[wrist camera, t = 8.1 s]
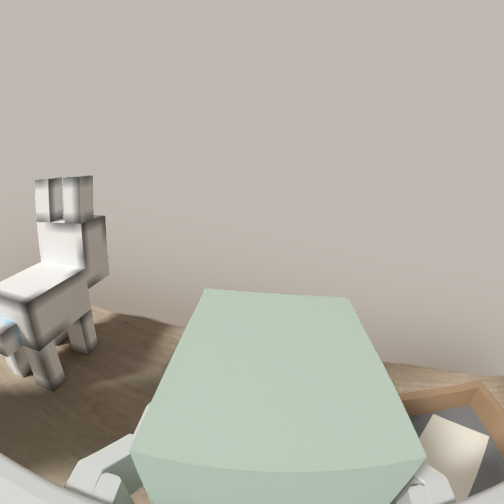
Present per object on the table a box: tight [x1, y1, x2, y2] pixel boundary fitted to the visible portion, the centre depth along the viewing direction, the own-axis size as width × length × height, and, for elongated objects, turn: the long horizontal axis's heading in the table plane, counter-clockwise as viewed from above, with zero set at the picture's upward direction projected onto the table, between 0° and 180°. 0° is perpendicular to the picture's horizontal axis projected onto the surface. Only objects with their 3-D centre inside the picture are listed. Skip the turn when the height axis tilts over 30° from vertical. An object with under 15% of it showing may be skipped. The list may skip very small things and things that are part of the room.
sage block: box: [129, 288, 427, 504], centre depth 8 cm, size 5×7×10 cm
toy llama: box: [0, 176, 109, 391], centre depth 27 cm, size 8×18×20 cm, turn 174°
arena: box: [398, 380, 504, 502], centre depth 16 cm, size 18×16×3 cm
